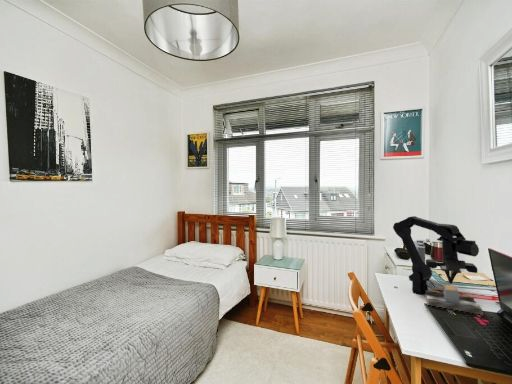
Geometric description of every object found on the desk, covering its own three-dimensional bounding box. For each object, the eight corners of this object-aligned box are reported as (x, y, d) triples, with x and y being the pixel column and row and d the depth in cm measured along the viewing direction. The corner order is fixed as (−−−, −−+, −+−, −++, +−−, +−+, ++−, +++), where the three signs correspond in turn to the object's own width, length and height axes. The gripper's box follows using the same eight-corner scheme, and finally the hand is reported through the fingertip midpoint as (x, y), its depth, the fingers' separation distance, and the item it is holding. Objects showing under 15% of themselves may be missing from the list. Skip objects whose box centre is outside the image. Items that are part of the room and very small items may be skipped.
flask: (428, 286, 135) (426, 243, 135) (418, 285, 137) (417, 242, 137) (422, 276, 151) (421, 237, 150) (414, 275, 153) (412, 236, 152)
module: (445, 302, 113) (445, 289, 113) (443, 296, 119) (442, 284, 119) (459, 304, 111) (459, 291, 110) (456, 298, 117) (455, 285, 116)
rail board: (427, 306, 114) (427, 300, 114) (424, 295, 125) (424, 289, 125) (483, 316, 104) (483, 309, 104) (474, 303, 115) (474, 297, 115)
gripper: (428, 253, 112) (428, 286, 112) (480, 257, 103) (481, 293, 103) (425, 247, 122) (426, 278, 122) (473, 251, 112) (474, 284, 113)
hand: (450, 283), depth 115 cm, fingers closed
